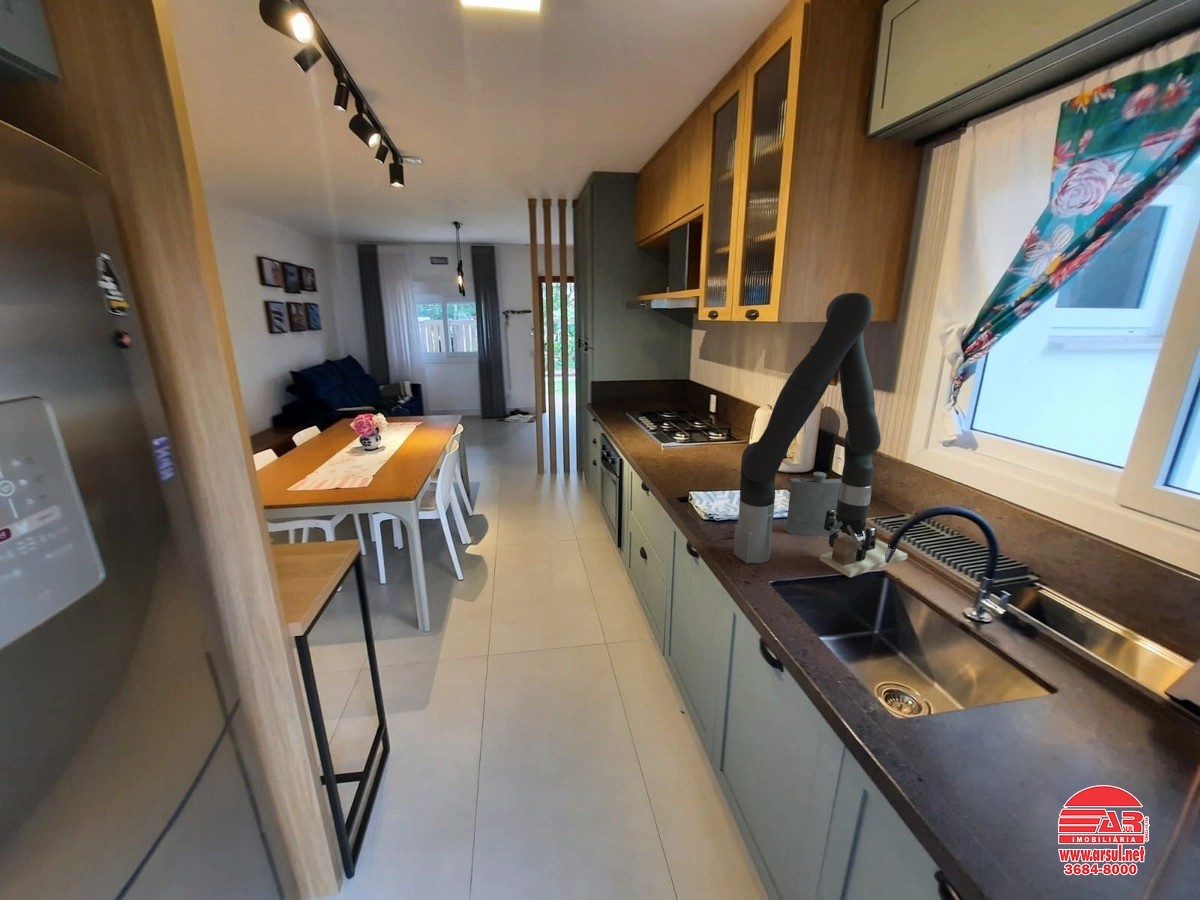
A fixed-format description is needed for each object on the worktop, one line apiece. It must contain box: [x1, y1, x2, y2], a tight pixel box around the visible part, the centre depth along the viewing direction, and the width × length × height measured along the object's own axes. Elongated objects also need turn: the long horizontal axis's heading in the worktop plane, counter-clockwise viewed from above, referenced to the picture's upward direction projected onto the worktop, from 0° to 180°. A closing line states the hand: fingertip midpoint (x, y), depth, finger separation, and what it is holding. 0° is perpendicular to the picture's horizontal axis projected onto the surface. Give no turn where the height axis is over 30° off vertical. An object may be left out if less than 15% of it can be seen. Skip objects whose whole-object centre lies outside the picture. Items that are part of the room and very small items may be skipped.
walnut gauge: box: [832, 534, 862, 565], centre depth 132 cm, size 6×4×6 cm, turn 113°
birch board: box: [819, 538, 908, 578], centre depth 136 cm, size 22×10×2 cm, turn 113°
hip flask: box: [785, 471, 842, 537], centre depth 149 cm, size 16×4×20 cm, turn 84°
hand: (845, 553), depth 132 cm, fingers open, 8 cm apart
